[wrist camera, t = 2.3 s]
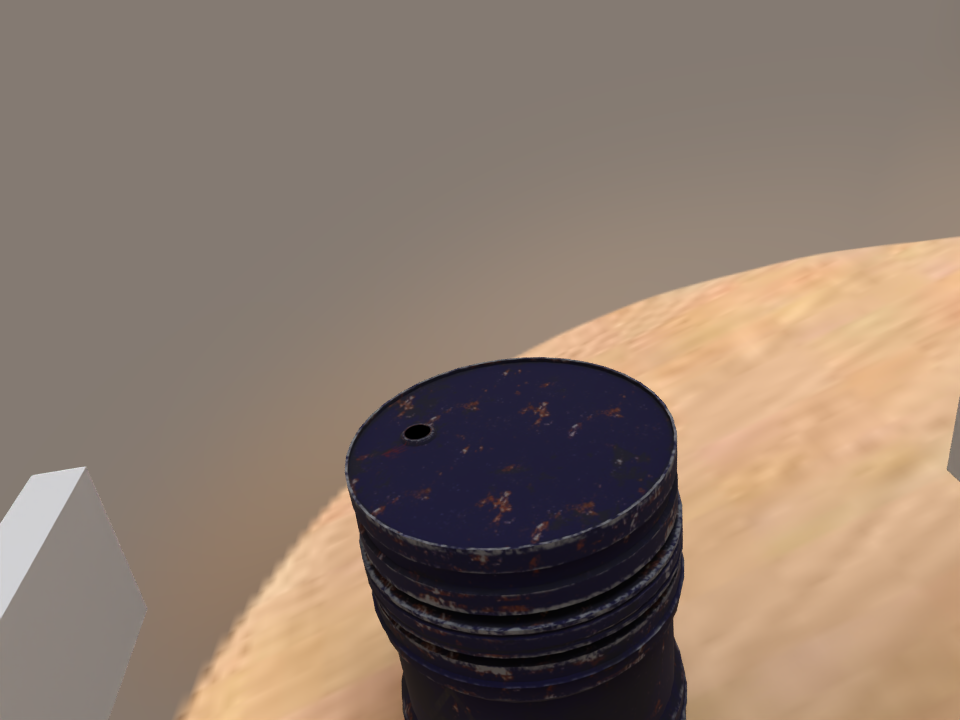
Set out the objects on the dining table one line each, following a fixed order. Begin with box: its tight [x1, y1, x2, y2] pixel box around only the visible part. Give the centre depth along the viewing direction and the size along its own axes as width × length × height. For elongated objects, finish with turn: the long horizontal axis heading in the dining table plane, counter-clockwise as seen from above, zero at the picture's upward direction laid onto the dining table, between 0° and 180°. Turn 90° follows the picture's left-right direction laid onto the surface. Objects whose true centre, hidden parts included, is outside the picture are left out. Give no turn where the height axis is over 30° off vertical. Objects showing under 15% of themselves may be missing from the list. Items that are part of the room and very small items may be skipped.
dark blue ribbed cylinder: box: [345, 357, 687, 720], centre depth 27 cm, size 10×10×15 cm
